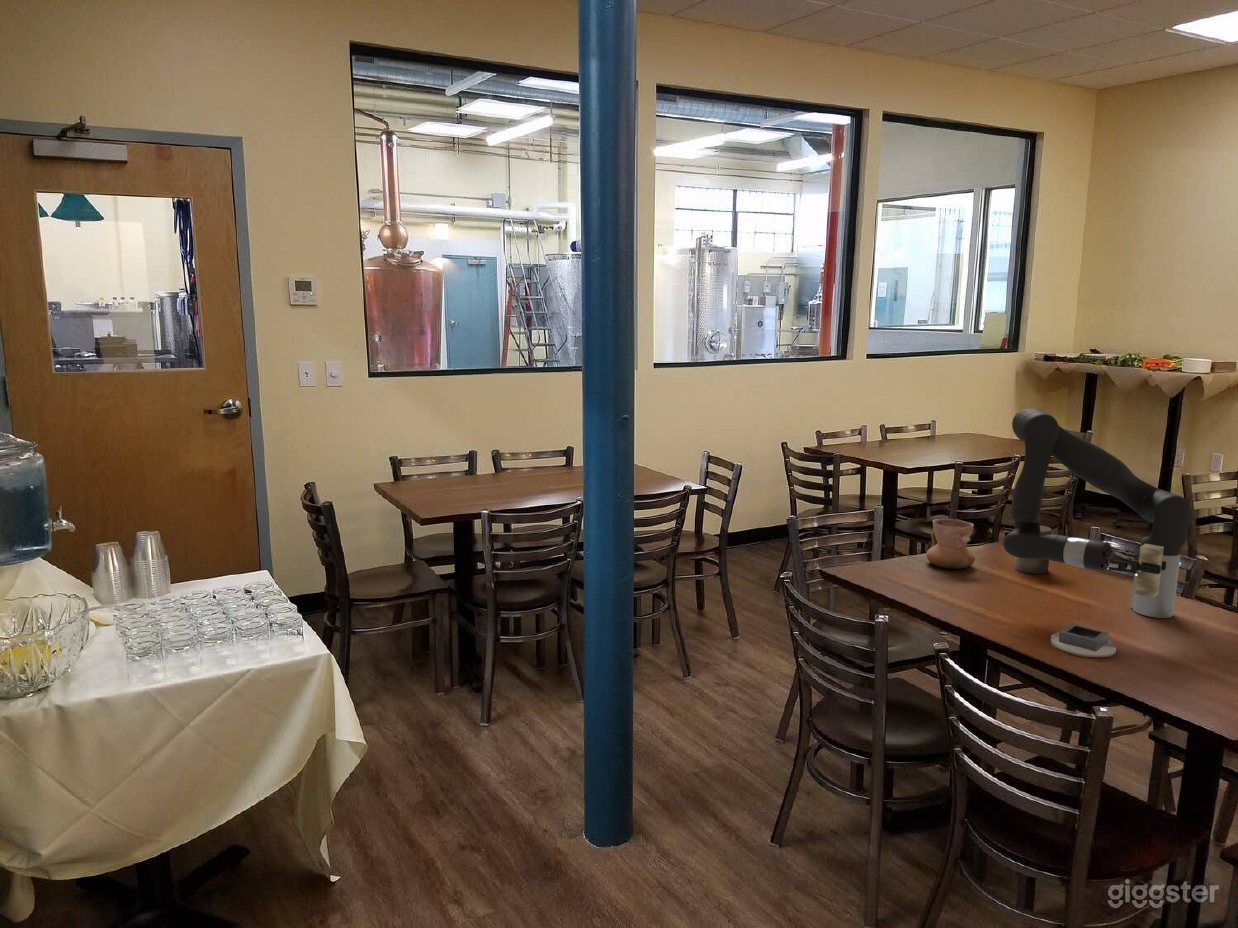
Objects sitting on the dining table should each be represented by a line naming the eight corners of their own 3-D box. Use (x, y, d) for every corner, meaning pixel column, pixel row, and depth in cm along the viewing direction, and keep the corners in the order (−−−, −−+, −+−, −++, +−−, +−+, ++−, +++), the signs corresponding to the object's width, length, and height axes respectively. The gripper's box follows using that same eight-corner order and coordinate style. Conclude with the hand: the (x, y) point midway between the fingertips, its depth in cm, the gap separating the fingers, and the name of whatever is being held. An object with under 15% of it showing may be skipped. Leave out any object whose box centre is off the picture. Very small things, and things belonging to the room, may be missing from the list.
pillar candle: (1055, 573, 268) (1059, 526, 266) (1027, 575, 266) (1032, 527, 264) (1034, 565, 278) (1038, 519, 275) (1007, 566, 275) (1011, 520, 273)
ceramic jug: (986, 572, 269) (989, 527, 267) (943, 574, 266) (947, 529, 264) (953, 557, 286) (956, 515, 284) (913, 559, 283) (916, 516, 281)
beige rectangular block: (1135, 593, 213) (1140, 546, 211) (1140, 590, 216) (1145, 543, 213) (1153, 597, 210) (1159, 549, 208) (1158, 593, 213) (1163, 546, 211)
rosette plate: (1041, 645, 210) (1043, 631, 209) (1062, 631, 219) (1064, 617, 219) (1104, 662, 200) (1106, 647, 199) (1123, 647, 209) (1125, 632, 209)
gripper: (1078, 544, 216) (1156, 558, 204) (1097, 534, 226) (1173, 547, 214) (1075, 573, 217) (1152, 589, 205) (1095, 562, 227) (1169, 576, 215)
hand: (1162, 567), depth 209 cm, fingers closed on beige rectangular block, 4 cm apart
